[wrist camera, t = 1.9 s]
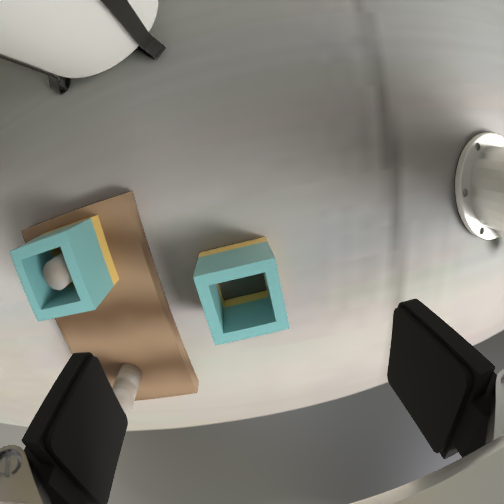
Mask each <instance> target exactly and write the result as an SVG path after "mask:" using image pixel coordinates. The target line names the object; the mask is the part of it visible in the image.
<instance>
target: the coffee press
mask: <svg viewBox="0 0 504 504" xmlns="http://www.w3.org/2000/svg"><path fill="white" fill-rule="evenodd" d="M157 10H158V0H0V58H2V59H5V60H8V61H11V62H14V63H17V64H19V65H22V66H25V67H28V68H31V69H33V70H36V71H39V72H41V73H44V74H46V75H48V77H49V82H50V88H51V89H52V90H54V91H56V92H58V93H59V94H63V93H65V92H66V91H67V89H68V88H69V86H70V81H71V78H82V77H88V76H92V75H95V74H98V73H101V72H103V71H105V70H108V69H109V68H111V67H113V66H115V65H116V64H118V63H119V62H121V61H122V60H124V59H125V58H126V57H127V56H129V55H130V54H131V53H132V52H133V51H134V50H135V49H138V50H140V51H141V52H143V53H144V54H146V55H147V56H149V57H151V58H153V59H155V60H157V59H158V58H159V56H160V55H161V54H162V52H163V51H164V50H165V49H166V47H165V46H164V45H163V44H161V43H160V42H159V41H157V40H156V39H155V38H154V37H153V36H152V35H151V34H150V33H149V31H150V29H151V27H152V25H153V23H154V21H155V18H156V14H157ZM1 54H2V55H1ZM4 55H5V56H4ZM7 56H8V57H7ZM9 57H11V58H9ZM12 58H13V59H12ZM15 59H16V60H15ZM18 60H19V61H18ZM20 61H22V62H20ZM23 62H24V63H23ZM26 63H27V64H26ZM28 64H30V65H28ZM31 65H32V66H31ZM34 66H35V67H34ZM36 67H37V68H36ZM39 68H40V69H39ZM41 69H43V70H45V71H43V70H41ZM46 71H48V72H50V73H53V74H56V75H59V76H61V79H60V82H59V81H58V79H57V78H56V77H55V76H53V75H51V74H49V73H47V72H46Z"/></svg>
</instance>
